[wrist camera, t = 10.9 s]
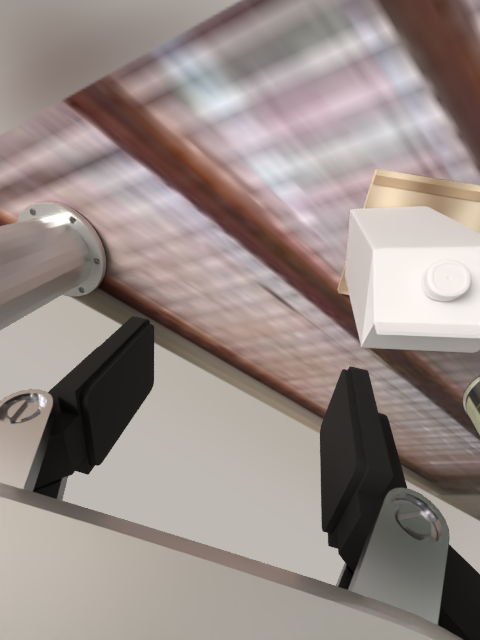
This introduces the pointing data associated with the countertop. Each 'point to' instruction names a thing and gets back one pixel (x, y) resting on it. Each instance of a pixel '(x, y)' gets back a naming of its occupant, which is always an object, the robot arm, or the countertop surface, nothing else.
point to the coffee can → (473, 402)
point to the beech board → (423, 199)
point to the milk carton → (413, 279)
